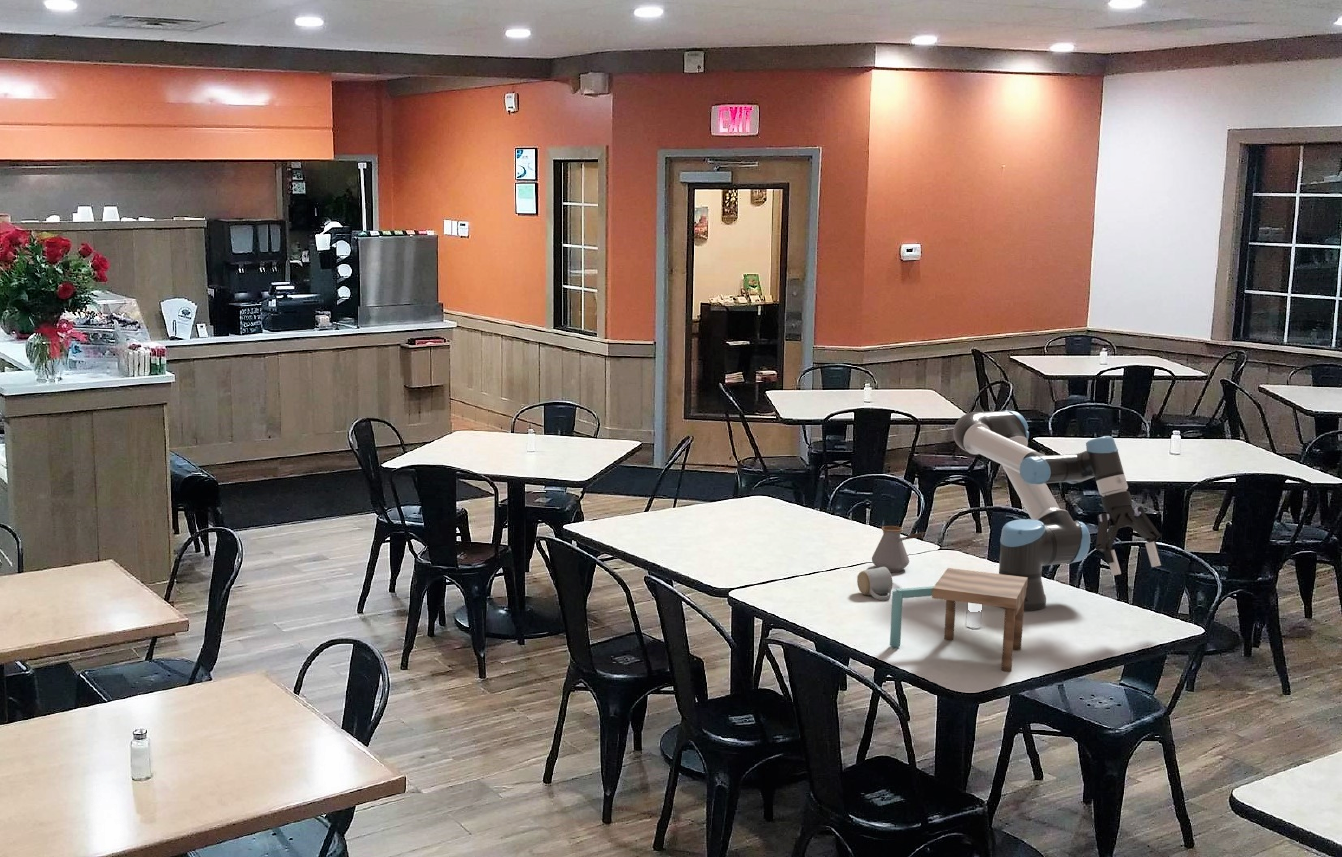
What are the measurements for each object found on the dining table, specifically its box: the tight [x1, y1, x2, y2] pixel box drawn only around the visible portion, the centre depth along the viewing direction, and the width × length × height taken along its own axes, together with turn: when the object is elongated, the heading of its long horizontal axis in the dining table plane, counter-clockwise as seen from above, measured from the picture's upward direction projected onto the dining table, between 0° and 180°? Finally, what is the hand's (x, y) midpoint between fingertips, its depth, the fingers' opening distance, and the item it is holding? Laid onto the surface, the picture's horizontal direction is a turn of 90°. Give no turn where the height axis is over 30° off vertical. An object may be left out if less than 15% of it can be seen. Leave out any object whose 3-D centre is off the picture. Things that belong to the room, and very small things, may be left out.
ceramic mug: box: [856, 567, 894, 601], centre depth 372 cm, size 11×8×8 cm
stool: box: [931, 567, 1028, 673], centre depth 323 cm, size 20×20×18 cm
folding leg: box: [889, 585, 935, 648], centre depth 329 cm, size 16×3×15 cm, turn 108°
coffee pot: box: [871, 525, 929, 573], centre depth 395 cm, size 21×12×15 cm, turn 30°
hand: (1136, 570), depth 345 cm, fingers open, 13 cm apart
